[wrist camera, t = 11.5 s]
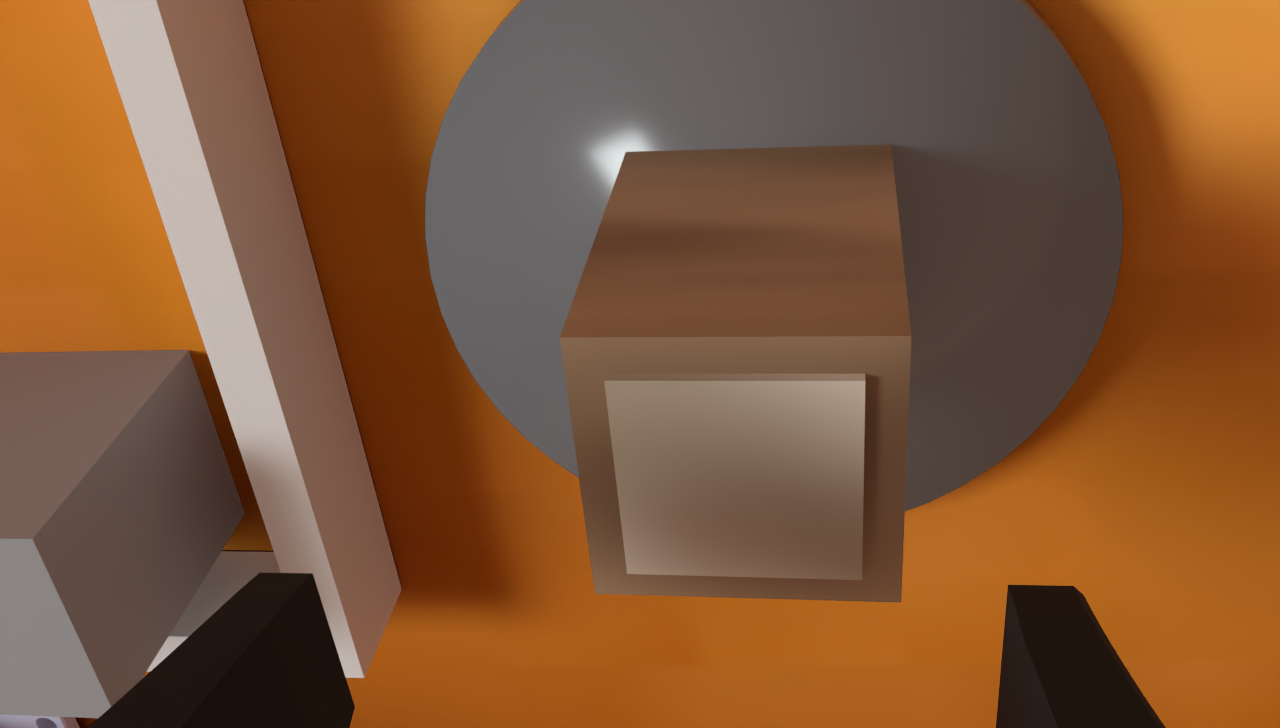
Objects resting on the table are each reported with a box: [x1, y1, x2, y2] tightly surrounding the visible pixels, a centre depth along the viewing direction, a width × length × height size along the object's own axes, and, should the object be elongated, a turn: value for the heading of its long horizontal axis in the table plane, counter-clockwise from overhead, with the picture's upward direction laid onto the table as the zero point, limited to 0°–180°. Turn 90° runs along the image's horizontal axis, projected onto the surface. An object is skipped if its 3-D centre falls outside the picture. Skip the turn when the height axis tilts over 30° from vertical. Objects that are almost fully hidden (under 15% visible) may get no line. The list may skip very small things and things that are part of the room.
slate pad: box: [425, 0, 1124, 511], centre depth 20 cm, size 11×11×1 cm
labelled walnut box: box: [560, 144, 911, 602], centre depth 17 cm, size 4×4×6 cm
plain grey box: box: [0, 350, 245, 718], centre depth 22 cm, size 4×4×6 cm
